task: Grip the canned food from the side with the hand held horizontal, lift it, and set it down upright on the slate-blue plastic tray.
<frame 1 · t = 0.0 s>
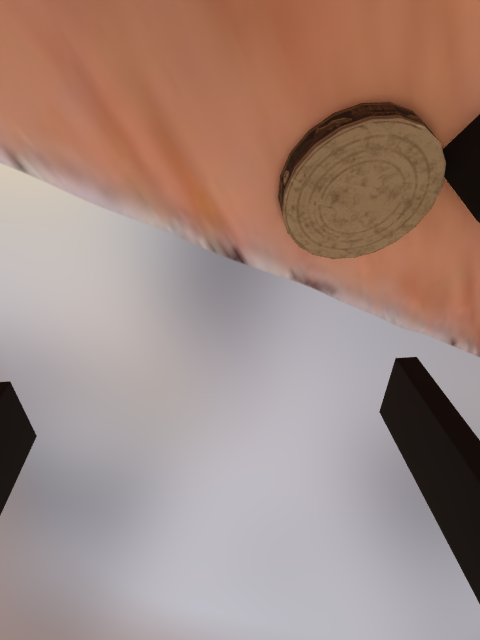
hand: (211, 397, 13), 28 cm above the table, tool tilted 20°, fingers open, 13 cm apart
wood slice: (352, 182, 39), on the table
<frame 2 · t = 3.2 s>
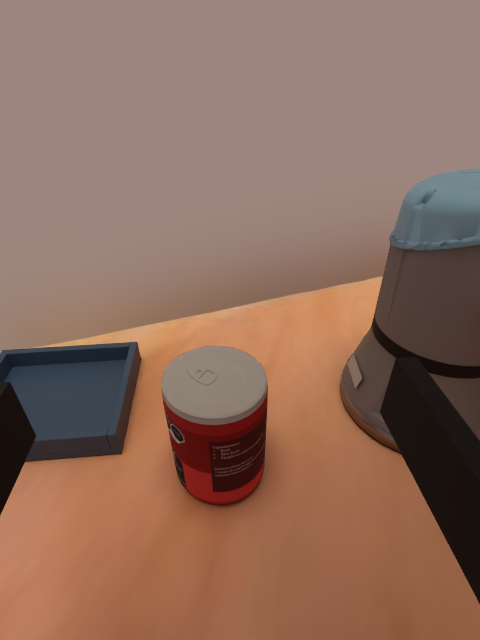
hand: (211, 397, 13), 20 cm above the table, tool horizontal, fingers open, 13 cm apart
tray: (59, 405, 39), on the table
canned food: (220, 467, 33), on the table
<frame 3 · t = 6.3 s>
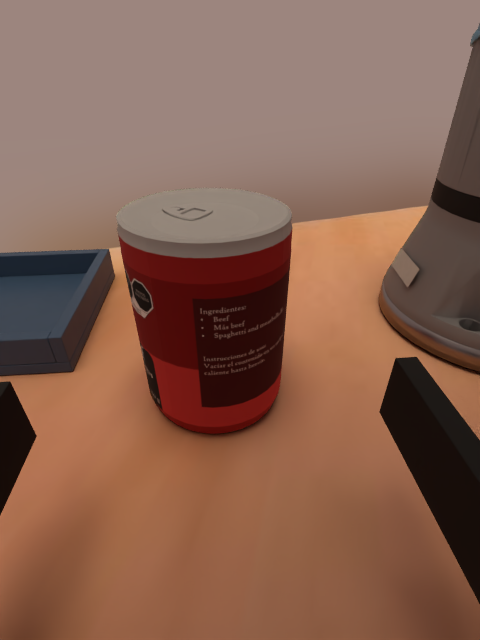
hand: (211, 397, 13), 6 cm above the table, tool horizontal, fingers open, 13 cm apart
canned food: (215, 389, 23), on the table
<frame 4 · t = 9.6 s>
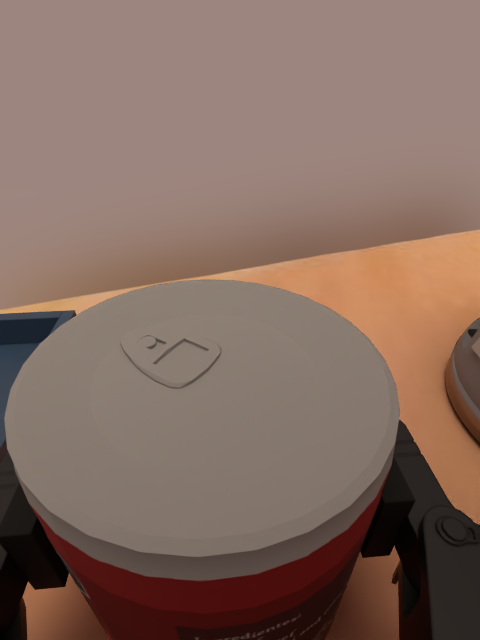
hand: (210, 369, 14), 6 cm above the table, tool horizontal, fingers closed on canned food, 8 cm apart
canned food: (221, 583, 14), on the table, touching gripper
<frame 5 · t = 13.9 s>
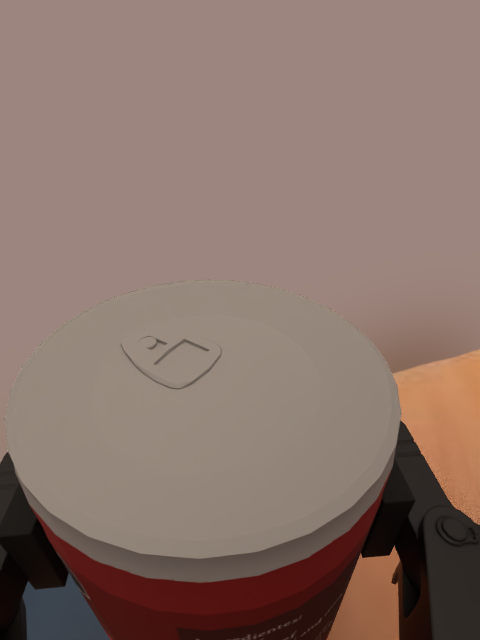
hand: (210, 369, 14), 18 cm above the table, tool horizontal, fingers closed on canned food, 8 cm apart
tray: (127, 603, 23), on the table
canned food: (222, 584, 14), point 11 cm above the table, touching gripper
when the fingers open (7 cm above the table, at t = 18.2 s): canned food stays where it is, resting on tray.
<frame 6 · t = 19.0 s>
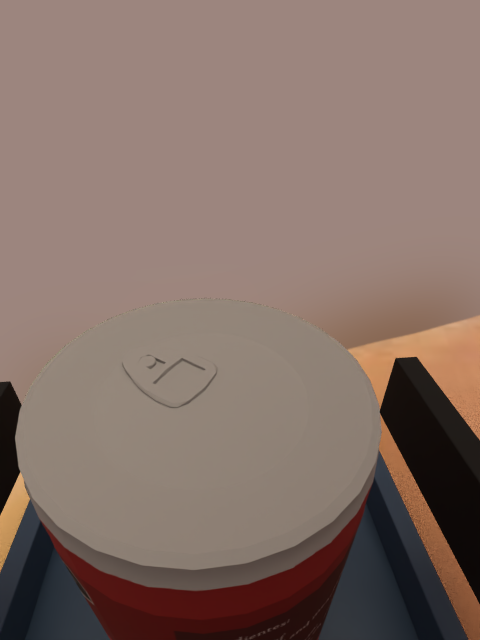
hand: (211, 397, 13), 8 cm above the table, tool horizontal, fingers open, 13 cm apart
tray: (220, 592, 15), on the table
canned food: (218, 587, 15), point 1 cm above the table, touching tray
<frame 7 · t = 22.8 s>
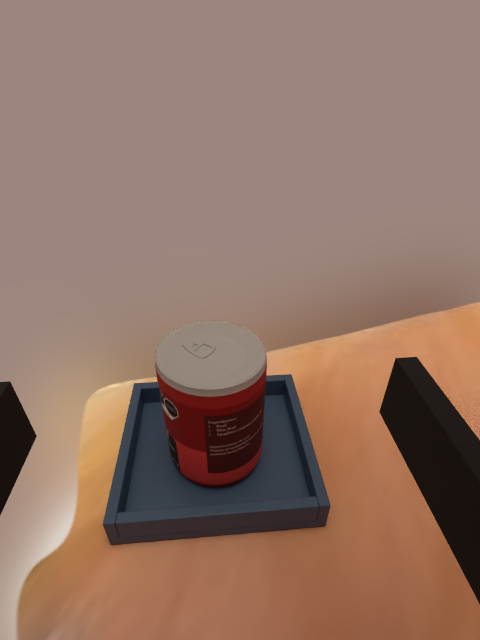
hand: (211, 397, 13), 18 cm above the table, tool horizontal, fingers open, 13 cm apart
tray: (217, 455, 32), on the table
canned food: (216, 451, 32), point 1 cm above the table, touching tray
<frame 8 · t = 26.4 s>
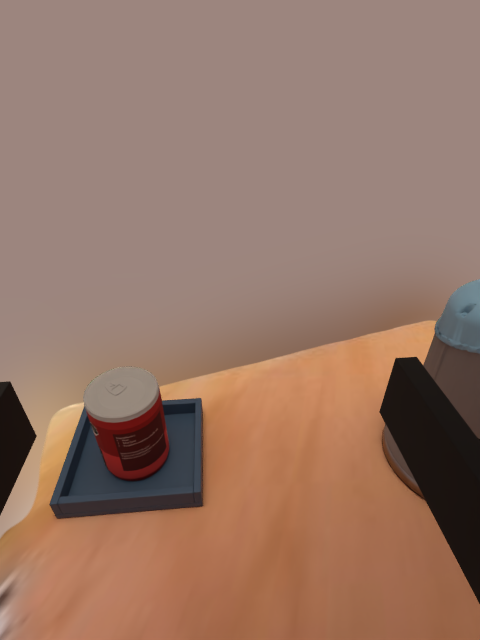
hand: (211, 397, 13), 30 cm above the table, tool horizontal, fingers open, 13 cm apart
tray: (139, 458, 45), on the table
canned food: (138, 455, 45), point 1 cm above the table, touching tray
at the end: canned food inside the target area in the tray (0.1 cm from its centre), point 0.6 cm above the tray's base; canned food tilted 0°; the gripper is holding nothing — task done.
